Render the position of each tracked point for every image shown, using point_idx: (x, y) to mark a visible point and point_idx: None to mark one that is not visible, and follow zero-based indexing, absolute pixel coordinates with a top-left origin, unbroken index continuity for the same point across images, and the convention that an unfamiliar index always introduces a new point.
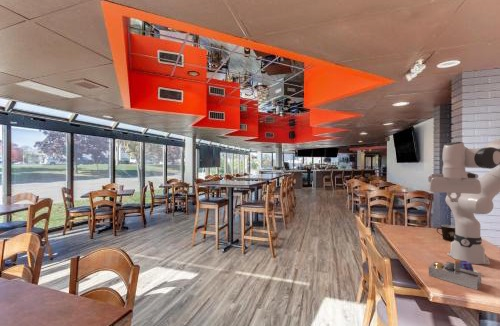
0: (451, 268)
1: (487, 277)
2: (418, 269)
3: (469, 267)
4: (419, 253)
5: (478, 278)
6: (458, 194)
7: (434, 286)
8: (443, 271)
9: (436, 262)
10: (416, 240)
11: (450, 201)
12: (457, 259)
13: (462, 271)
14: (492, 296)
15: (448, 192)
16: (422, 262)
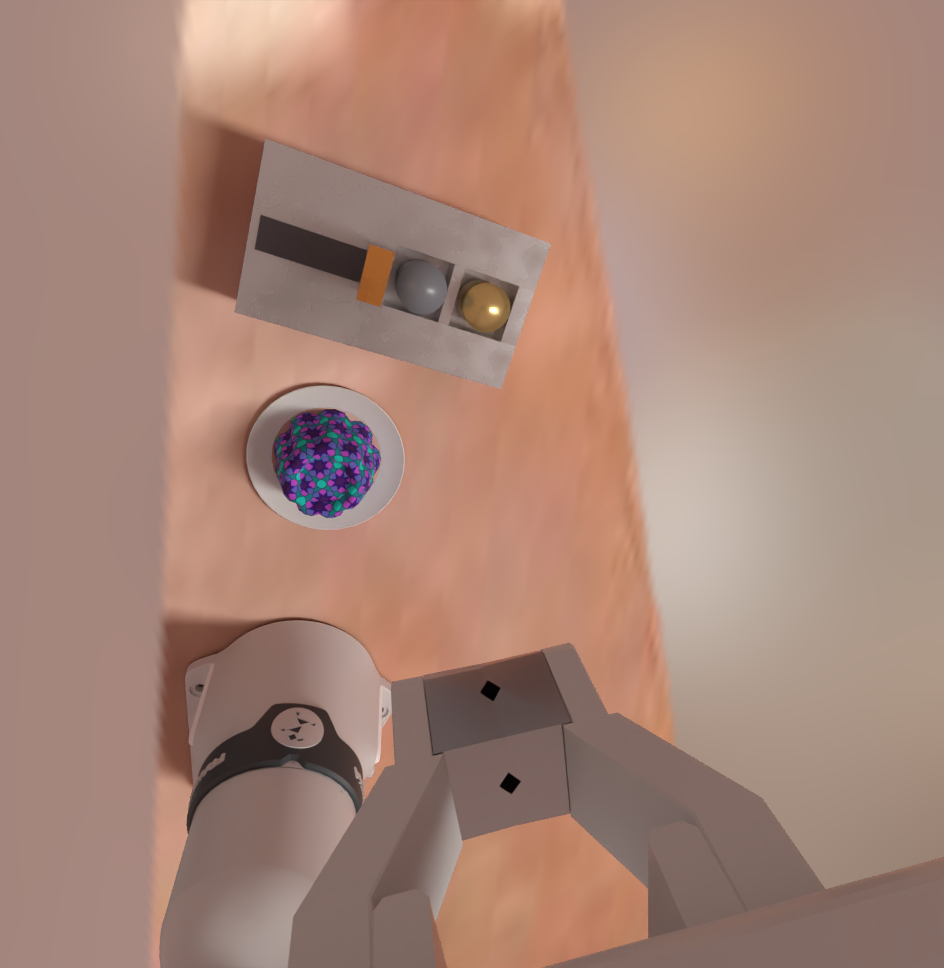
0: (413, 261)
1: (209, 435)
2: (580, 322)
3: (297, 441)
4: (543, 625)
5: (256, 192)
6: (383, 942)
7: (519, 39)
8: (463, 211)
9: (501, 314)
10: (536, 837)
11: (572, 646)
12: (377, 294)
13: (346, 272)
14: (197, 81)
15: (857, 882)
16: (543, 472)
